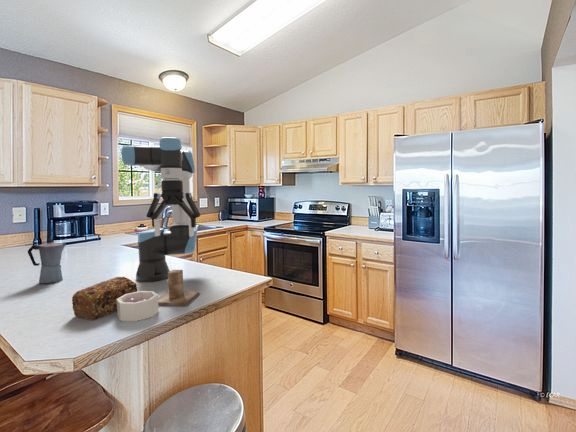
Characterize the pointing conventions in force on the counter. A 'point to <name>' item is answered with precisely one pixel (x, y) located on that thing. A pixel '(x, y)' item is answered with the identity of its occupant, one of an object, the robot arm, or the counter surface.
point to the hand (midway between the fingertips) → (174, 236)
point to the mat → (182, 305)
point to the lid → (176, 290)
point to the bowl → (137, 305)
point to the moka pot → (49, 261)
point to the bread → (101, 297)
